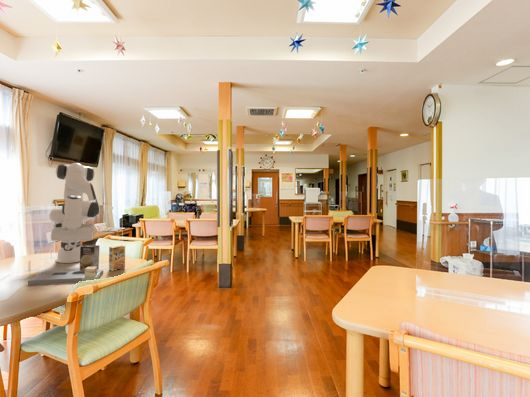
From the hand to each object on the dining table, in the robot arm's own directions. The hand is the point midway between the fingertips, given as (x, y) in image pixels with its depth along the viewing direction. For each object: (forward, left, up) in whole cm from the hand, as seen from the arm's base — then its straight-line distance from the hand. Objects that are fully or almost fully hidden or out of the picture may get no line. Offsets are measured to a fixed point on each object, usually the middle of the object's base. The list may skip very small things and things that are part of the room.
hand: (72, 248), depth 157 cm
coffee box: (-20, +3, -19) cm, 28 cm away
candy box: (-20, +19, -19) cm, 34 cm away
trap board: (-3, -3, -19) cm, 19 cm away
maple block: (+1, +10, -16) cm, 19 cm away
